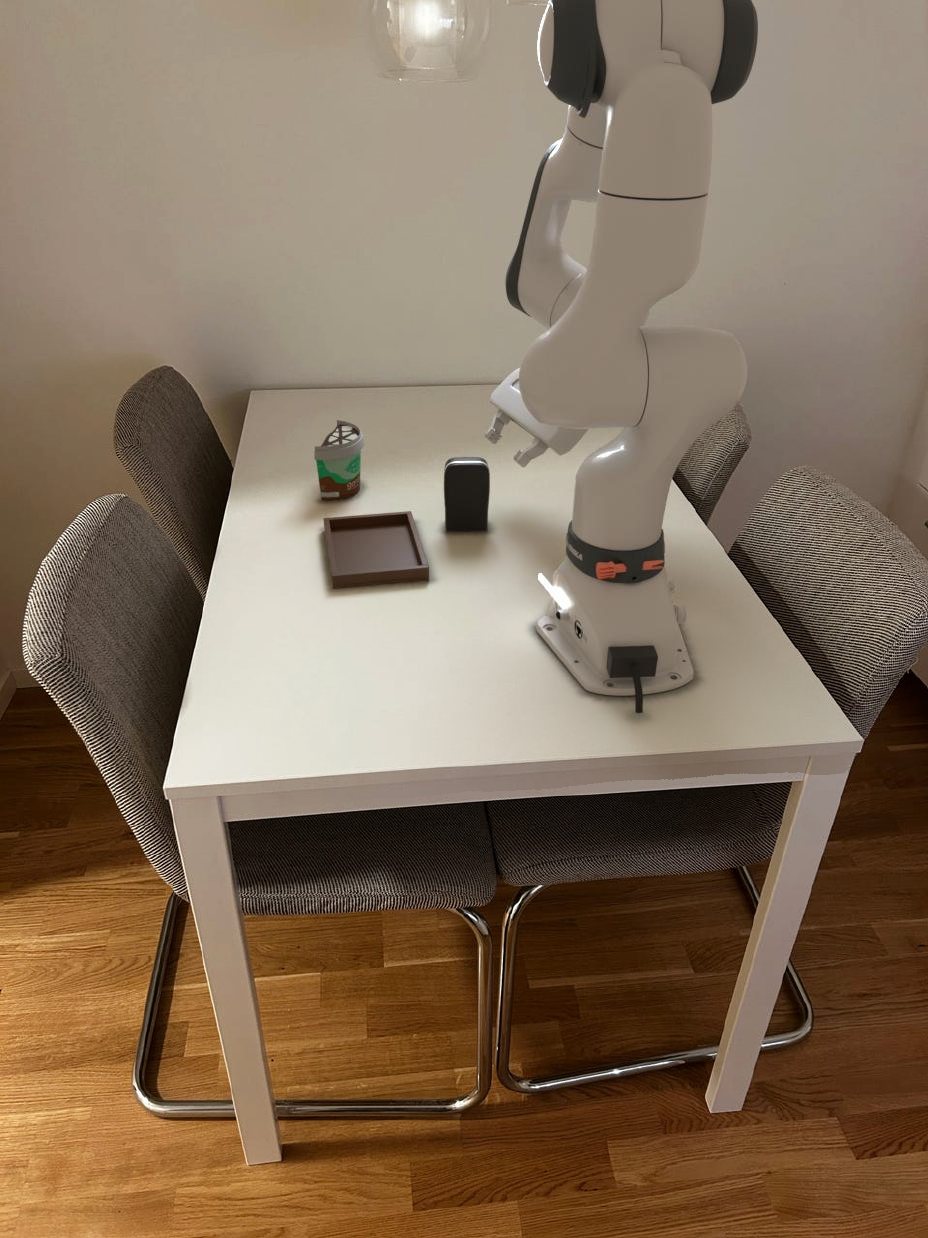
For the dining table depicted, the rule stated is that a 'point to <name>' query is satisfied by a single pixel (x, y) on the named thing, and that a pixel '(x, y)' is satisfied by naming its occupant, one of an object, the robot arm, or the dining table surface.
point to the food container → (340, 462)
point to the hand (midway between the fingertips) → (503, 451)
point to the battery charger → (466, 494)
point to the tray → (374, 550)
